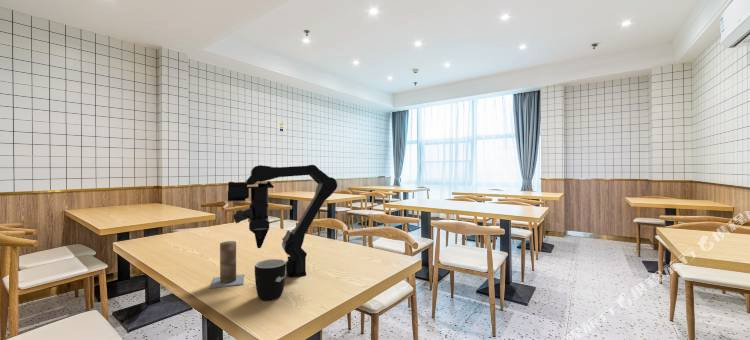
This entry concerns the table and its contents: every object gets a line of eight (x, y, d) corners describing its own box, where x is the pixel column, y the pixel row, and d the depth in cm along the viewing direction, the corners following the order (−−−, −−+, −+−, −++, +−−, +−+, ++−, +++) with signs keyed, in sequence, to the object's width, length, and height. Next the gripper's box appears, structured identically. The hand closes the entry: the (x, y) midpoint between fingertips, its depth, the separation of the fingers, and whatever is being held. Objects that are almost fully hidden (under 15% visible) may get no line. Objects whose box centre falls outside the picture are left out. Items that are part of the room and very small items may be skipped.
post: (234, 276, 109) (234, 240, 109) (237, 281, 105) (237, 243, 105) (219, 279, 106) (218, 242, 106) (221, 284, 102) (221, 245, 102)
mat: (244, 275, 112) (244, 274, 112) (243, 284, 103) (243, 283, 103) (213, 278, 108) (213, 277, 108) (209, 288, 99) (209, 287, 99)
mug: (276, 304, 88) (276, 268, 88) (248, 301, 89) (248, 266, 90) (295, 288, 99) (295, 257, 100) (269, 286, 101) (270, 255, 101)
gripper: (236, 199, 114) (236, 241, 114) (232, 204, 97) (231, 253, 96) (268, 198, 118) (267, 238, 118) (269, 203, 100) (269, 250, 100)
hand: (259, 244), depth 108 cm, fingers open, 9 cm apart
